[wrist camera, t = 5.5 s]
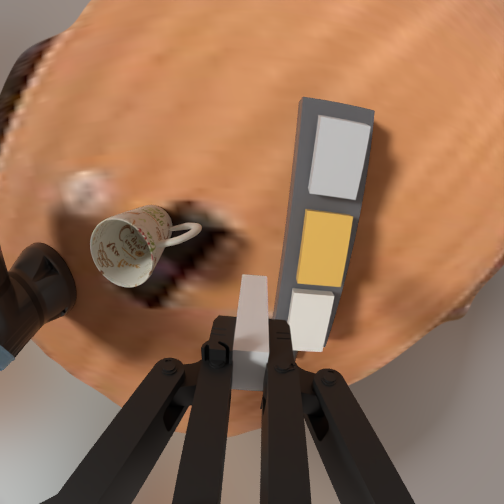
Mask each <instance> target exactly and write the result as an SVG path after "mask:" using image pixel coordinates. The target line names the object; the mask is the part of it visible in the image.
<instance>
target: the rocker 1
mask: <svg viewBox="0 0 504 504" xmlns="http://www.w3.org/2000/svg"><path fill="white" fill-rule="evenodd" d="M370 128H371V126H369V125H367V124H364V123H359V122H355V121H350V120H345V119H340V118H334V117H328V116H322V115H318V123H317V130H316V138H315V145H314V152H313V159H312V166H311V172H310V179H309V185H308V189H309V193H310V194H318V195H325V196H332V197H339V198H346V199H353V200H356V196H357V192H358V188H359V183H360V179H361V174H362V170H363V165H364V160H365V155H366V150H367V145H368V140H369V134H370Z"/></svg>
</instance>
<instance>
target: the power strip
mask: <svg viewBox="0 0 504 504" xmlns="http://www.w3.org/2000/svg"><path fill="white" fill-rule="evenodd" d="M374 112H375V111H374V110H370V109H365V108H361V107H357V106H352V105H347V104H343V103H337V102H332V101H326V100H321V99H314V98H308V97H303V98H302V99H301V100H300V101H299V107H298V118H297V128H296V138H295V148H294V158H293V167H292V176H291V185H290V193H289V202H288V210H287V218H286V226H285V234H284V241H283V249H282V256H281V264H280V271H279V278H278V285H277V292H276V298H275V305H274V312H273V318H272V319H279V320H286V322H287V321H288V315H289V309H290V302H291V296H292V289H293V288H297V289H309V290H320V291H332V293H333V295H334V301H333V306H332V310H331V315H330V320H329V324H328V329H327V333H326V337H325V341H324V345H323V347H325V346H326V343H327V340H328V337H329V334H330V331H331V328H332V324H333V321H334V318H335V314H336V311H337V307H338V304H339V300H340V297H341V293H342V290H343V286H344V282H345V278H346V274H347V270H348V266H349V262H350V258H351V254H352V249H353V245H354V241H355V236H356V231H357V227H358V222H359V217H360V211H361V206H362V201H363V195H364V189H365V183H366V177H367V170H368V164H369V156H370V149H371V141H372V132H373V122H374ZM318 115H322V116H328V117H334V118H340V119H345V120H350V121H355V122H359V123H364V124H367V125H369V126H371V128H370V134H369V140H368V145H367V150H366V155H365V160H364V165H363V170H362V174H361V179H360V183H359V188H358V192H357V196H356V200H353V199H346V198H339V197H332V196H325V195H318V194H310V193H309V189H308V185H309V179H310V172H311V166H312V159H313V152H314V145H315V138H316V130H317V123H318ZM305 209H311V210H319V211H327V212H335V213H342V214H349V215H351V216H353V221H352V227H351V234H350V240H349V246H348V252H347V257H346V263H345V268H344V273H343V278H342V283H341V287H333V286H321V285H310V284H299V283H297V280H296V275H297V269H298V262H299V255H300V248H301V240H302V233H303V225H304V217H305ZM297 353H298V351H296V350H293V355H294V361H296V357H297Z"/></svg>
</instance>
